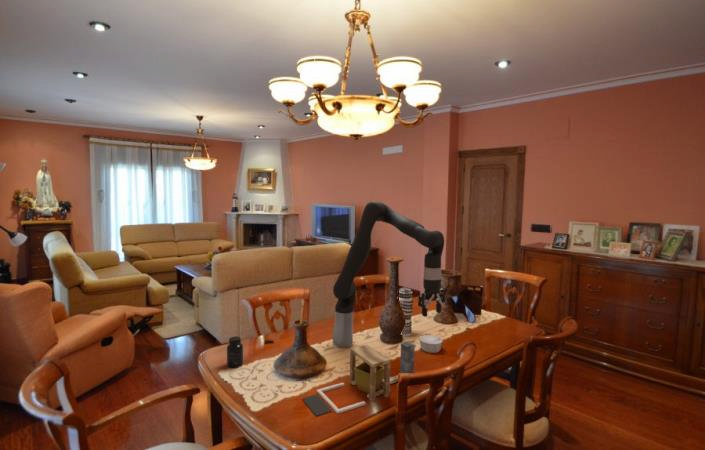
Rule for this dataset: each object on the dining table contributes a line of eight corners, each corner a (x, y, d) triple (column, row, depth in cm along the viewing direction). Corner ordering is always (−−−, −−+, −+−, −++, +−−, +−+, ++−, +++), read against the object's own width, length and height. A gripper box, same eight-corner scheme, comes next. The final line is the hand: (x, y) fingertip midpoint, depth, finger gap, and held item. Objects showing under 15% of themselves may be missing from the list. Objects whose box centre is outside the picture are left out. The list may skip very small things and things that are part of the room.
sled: (401, 370, 162) (402, 338, 160) (419, 382, 152) (421, 348, 150) (352, 384, 149) (353, 349, 147) (368, 398, 139) (369, 361, 137)
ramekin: (442, 355, 179) (442, 344, 178) (418, 352, 181) (419, 342, 181) (441, 346, 190) (442, 335, 189) (419, 343, 192) (419, 333, 192)
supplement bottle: (226, 362, 166) (226, 336, 164) (242, 360, 168) (242, 334, 167) (227, 369, 159) (227, 342, 158) (243, 367, 162) (243, 340, 160)
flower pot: (366, 381, 152) (367, 360, 151) (384, 389, 146) (385, 367, 146) (352, 390, 145) (353, 367, 144) (370, 398, 140) (371, 375, 139)
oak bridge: (366, 378, 155) (367, 344, 153) (389, 396, 141) (390, 359, 140) (349, 382, 150) (350, 348, 149) (371, 402, 137) (372, 364, 136)
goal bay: (342, 384, 149) (342, 382, 149) (365, 404, 135) (365, 402, 135) (316, 391, 143) (316, 389, 143) (337, 413, 129) (337, 411, 129)
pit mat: (316, 395, 141) (316, 394, 141) (331, 411, 130) (331, 410, 130) (302, 399, 138) (302, 398, 138) (316, 416, 127) (316, 415, 127)
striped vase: (414, 332, 207) (416, 288, 205) (408, 337, 199) (410, 291, 197) (399, 329, 212) (400, 285, 210) (392, 334, 204) (394, 289, 202)
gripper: (437, 274, 168) (436, 309, 169) (414, 277, 159) (413, 315, 161) (450, 276, 161) (449, 313, 163) (427, 281, 153) (426, 319, 155)
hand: (431, 314), depth 162 cm, fingers open, 8 cm apart
